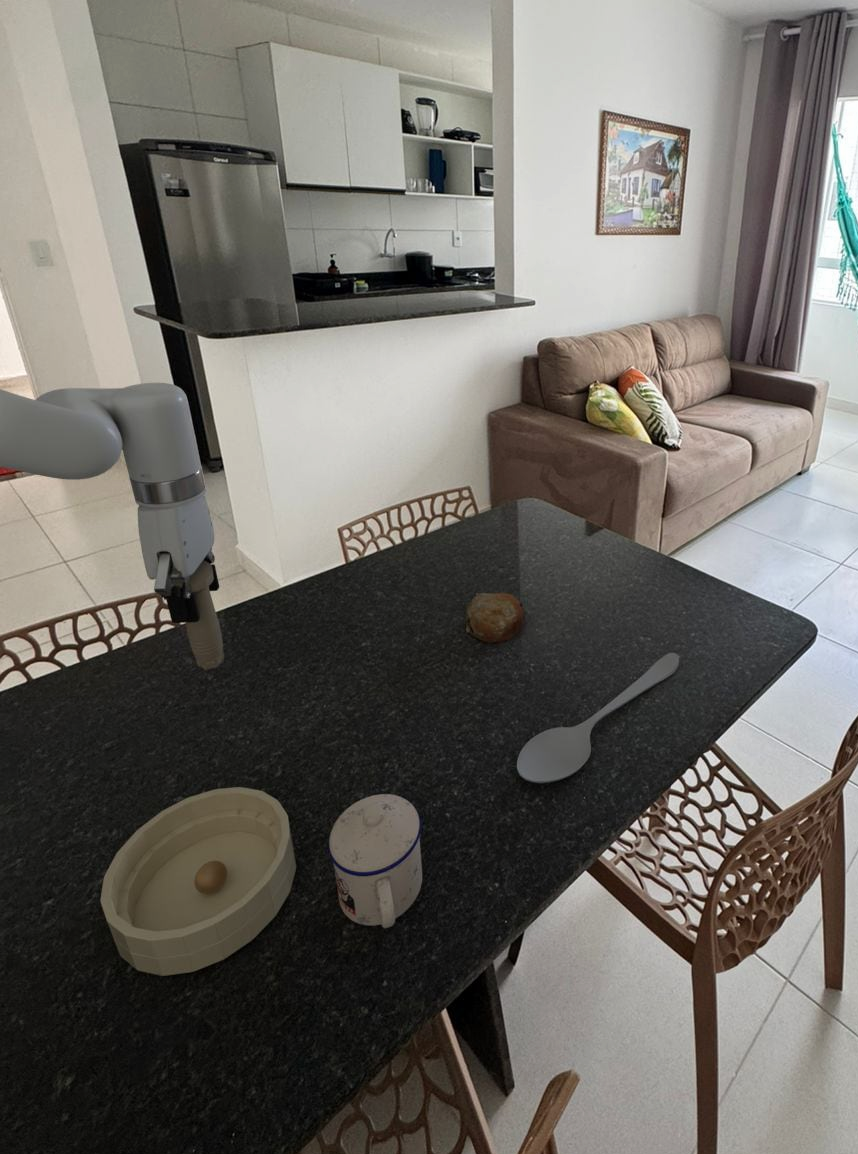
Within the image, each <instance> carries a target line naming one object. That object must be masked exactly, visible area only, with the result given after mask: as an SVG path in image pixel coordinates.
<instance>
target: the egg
mask: <svg viewBox="0 0 858 1154" xmlns="http://www.w3.org/2000/svg"><path fill="white" fill-rule="evenodd" d="M226 878H227V868H226V866H225V865H224V864H223V863H222V862H220V861H210V862H208V863H206V864H204V865H203V866H202V867H201V868H200V869H199V870H198V871H197V873H196V876H195V880H194V884H195V887H196V889H197V890H198V891H199V892H201V893H203V894H210V893H213V892H215V891H217V890H218V889H220V888H221V887H222V886H223V884H224V883H225V881H226Z"/></svg>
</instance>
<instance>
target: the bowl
mask: <svg viewBox="0 0 858 1154" xmlns="http://www.w3.org/2000/svg"><path fill="white" fill-rule="evenodd" d="M290 825H291V824H290V819H289V815H288V813H287V812H286V811H285V809H284V807H283V806H282V804H281V803H280V801H279V800H278V799H276V798H275V797H273V796H272V795H270V794H268V793H266V792H265V791H263V790H260V789H253V788H249V787H243V786H237V787H235V786H234V787H225V788H215V789H211V790H208V791H205V792H202V793H199V794H196V795H195V794H194V795H192V796H189V797H186V798H184V799H182V800H180V801H179V802H176V803H174V804H173V805H171V806H168V807H167V808H165V809H163V810H162V811H160V812H159V813H157V814H156V815H155V816H154V817H152V818H150V820H148V821H147V822H146V823H144V824H143V825H142V826H141V827H139V828H138V829H136V831H135V832H134V833H133V834H131V836H130V837H129V839H128V840H127V841H126V842H125V843H124V844H123V845H122V846H121V848H120V849H119V850H118V851H117V852H116V854H115V856H114V858H113V859H112V861H111V863H110V864H109V867H108V869H107V870H106V872H105V874H104V876H103V880H102V888H101V894H100V899H99V901H100V904H101V905H100V906H101V908H102V911H103V914H104V917H105V919H106V923H107V925H108V928H109V930H110V933H111V935H112V938H113V940H114V943H115V946H116V948H117V951H118V953H119V956H120V958H122V959H123V960H124V961H126V962H127V963H128V964H129V965H131V966H132V968H134V969H135V970H136V971H138V972H143V973H148V974H153V975H156V976H162V977H166V976H174V975H181V974H187V973H188V974H189V973H193V972H197V971H200V970H201V969H204V968H206V967H210V966H211V965H213V964H216V963H219V962H221V961H224V960H225V959H227V958H229V957H230V956H231V955H233V954H234V953H236V952H237V951H238V950H240V949H241V948H243V947H244V946H246V945H247V944H249V943H251V942H252V941H253V940H254V939H256V937H257V936H258V935H259V934H260V933H262V931H263V930H264V929H265V928H266V927H267V926H268V925H269V923H270V922H272V920H274V918H276V916H277V915H278V913H279V911H280V909H281V908H282V906H283V905H284V903H285V902H286V900H287V898H288V897H289V895H290V893H291V890H292V886H293V882H294V879H295V874H296V870H297V862H296V853H295V845H294V840H293V835H292V830H291V826H290ZM210 861H220V862H222V863H223V864H224V865H225V866H226V868H227V878H226V881H225V883H224V884H223V886H222V887H221V888H220V889H218V890H217V891H215V892H213V893H210V894H203V893H201V892H199V891H198V890H197V889H196V887H195V884H194V880H195V876H196V873H197V871H198V870H199V869H200V868H201V867H202V866H203V865H204V864H206V863H208V862H210Z"/></svg>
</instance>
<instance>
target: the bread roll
mask: <svg viewBox="0 0 858 1154" xmlns="http://www.w3.org/2000/svg"><path fill="white" fill-rule="evenodd" d="M522 607H523V603H522V602H521V601H520V600H518V599H517V598H516V597H515V596H514V595H512V594H510V593H504V592H502V591H501V592H497V593H490V592H489V593H487V592H481V593H480V594H478V595H476V596H474V597H473V598H472V600H471V601H470V603H469V604H468V606H467V609H466V613H465V624H466V627H465V631H466V633H468V634H471V635H472V636H473V637H474V638H476V639H478V640H480V641H482V642H484V643H487V644H495V643H502V642H506V641H508V640H510V639H512V638H513V637H515V636H516V635H517V634H518V633H519V632H520V631H521V629H522V627H523V626H524V621H525V618H526V617H525V612H524V609H523V608H522Z"/></svg>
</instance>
